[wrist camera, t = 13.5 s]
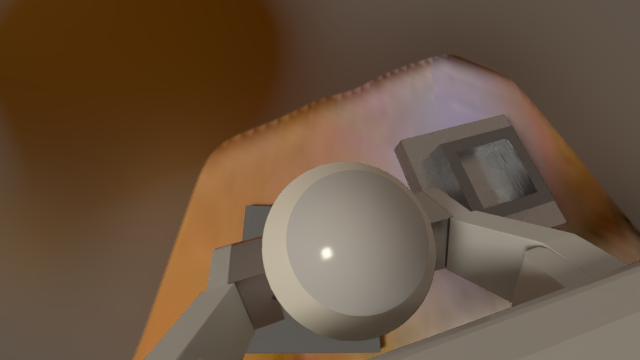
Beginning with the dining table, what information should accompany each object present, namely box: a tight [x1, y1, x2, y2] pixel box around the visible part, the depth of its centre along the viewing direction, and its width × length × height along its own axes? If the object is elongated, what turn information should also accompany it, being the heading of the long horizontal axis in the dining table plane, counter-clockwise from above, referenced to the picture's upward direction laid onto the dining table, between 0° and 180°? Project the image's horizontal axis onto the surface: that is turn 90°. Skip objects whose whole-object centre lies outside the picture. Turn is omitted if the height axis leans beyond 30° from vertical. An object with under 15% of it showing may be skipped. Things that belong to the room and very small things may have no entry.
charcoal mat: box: [242, 206, 380, 353], centre depth 22 cm, size 11×11×1 cm
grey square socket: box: [394, 114, 566, 228], centre depth 24 cm, size 11×11×4 cm
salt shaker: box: [262, 162, 436, 341], centre depth 9 cm, size 4×4×7 cm
